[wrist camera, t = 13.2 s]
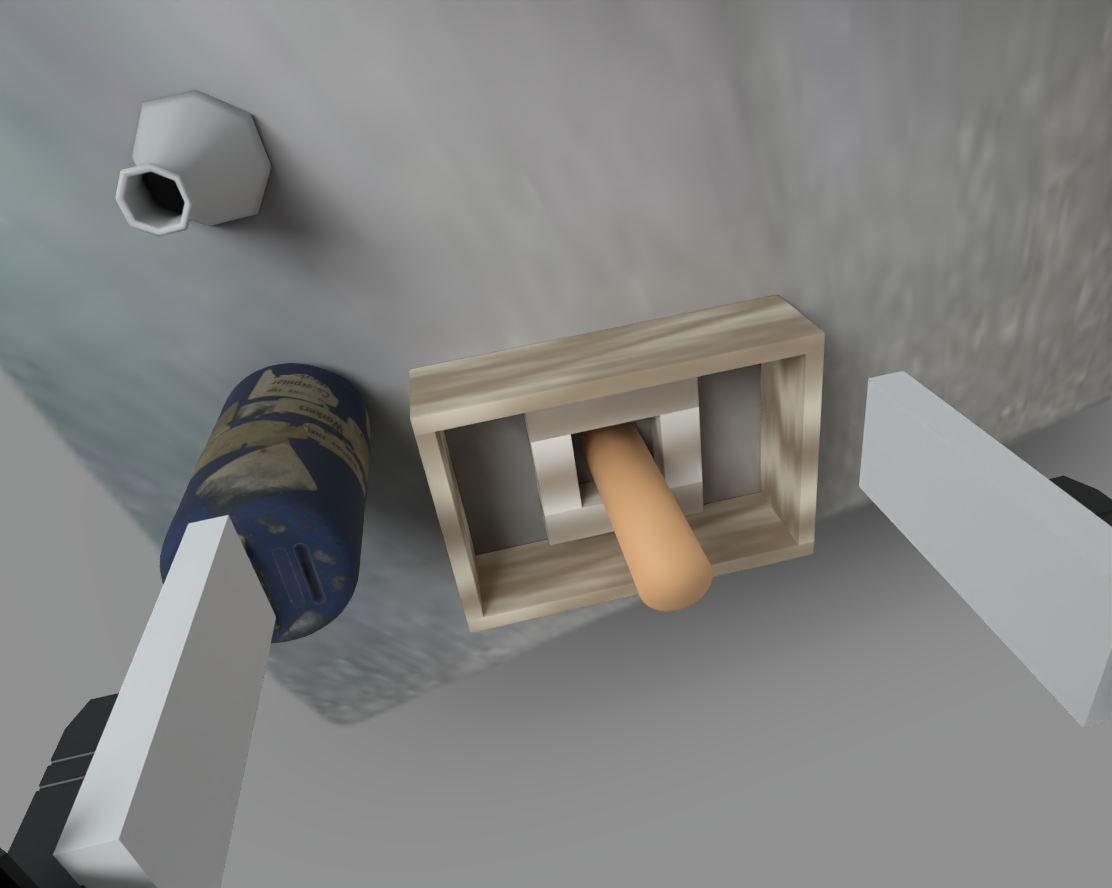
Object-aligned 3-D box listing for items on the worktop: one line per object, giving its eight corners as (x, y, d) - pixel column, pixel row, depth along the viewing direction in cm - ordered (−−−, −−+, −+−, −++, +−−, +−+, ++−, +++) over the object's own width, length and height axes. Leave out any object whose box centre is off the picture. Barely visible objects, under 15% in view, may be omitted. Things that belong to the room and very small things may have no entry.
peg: (578, 422, 55) (635, 560, 42) (636, 410, 56) (712, 543, 42) (585, 471, 57) (641, 618, 44) (640, 459, 58) (713, 601, 44)
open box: (409, 369, 51) (410, 418, 45) (777, 294, 53) (824, 332, 47) (463, 570, 60) (470, 632, 54) (774, 500, 62) (813, 553, 56)
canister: (374, 360, 50) (362, 519, 35) (370, 480, 55) (357, 667, 39) (220, 349, 48) (134, 514, 33) (228, 475, 53) (157, 671, 37)
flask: (143, 220, 43) (80, 274, 35) (122, 81, 40) (46, 105, 31) (276, 229, 45) (246, 283, 36) (267, 96, 41) (232, 123, 33)
